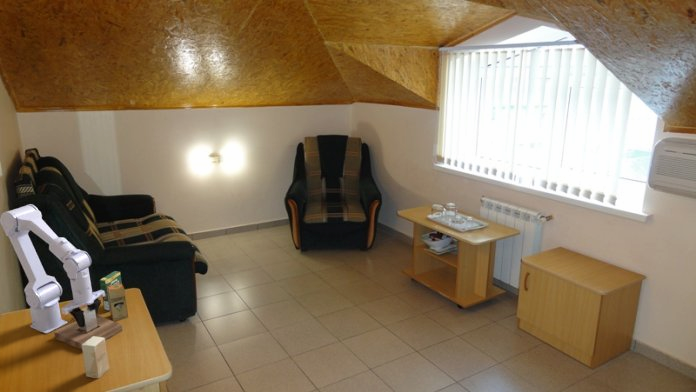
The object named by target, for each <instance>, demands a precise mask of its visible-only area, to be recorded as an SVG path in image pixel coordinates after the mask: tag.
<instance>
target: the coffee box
mask: <svg viewBox="0 0 696 392" xmlns="http://www.w3.org/2000/svg"><path fill="white" fill-rule="evenodd" d="M122 282H123V281H122V276H121V271H117V270H114V271H112V272H110V273H109V274H107V275H106V276H104V277H102V278H101V279H99V287H100V290H103V291H105V296H104V297H101V298H102V303H103V309H104V311H106V312H107V311H108V312H110V306H109V300H108V293H107V286H109V285H113V284H118V283H122ZM122 284H123V283H122Z"/></svg>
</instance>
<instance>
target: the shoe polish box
mask: <svg viewBox="0 0 696 392" xmlns="http://www.w3.org/2000/svg"><path fill="white" fill-rule="evenodd" d="M125 291H126V290H125V287H124V285H123V283H118V284H113V285H109V286H107V293H108V300H109V306H110V311H109V313H110V317H111V318H112V321H114V322H116V321H119V320H123V319H127V318H128V317H129V313H128V305H127V299H126V292H125Z"/></svg>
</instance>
